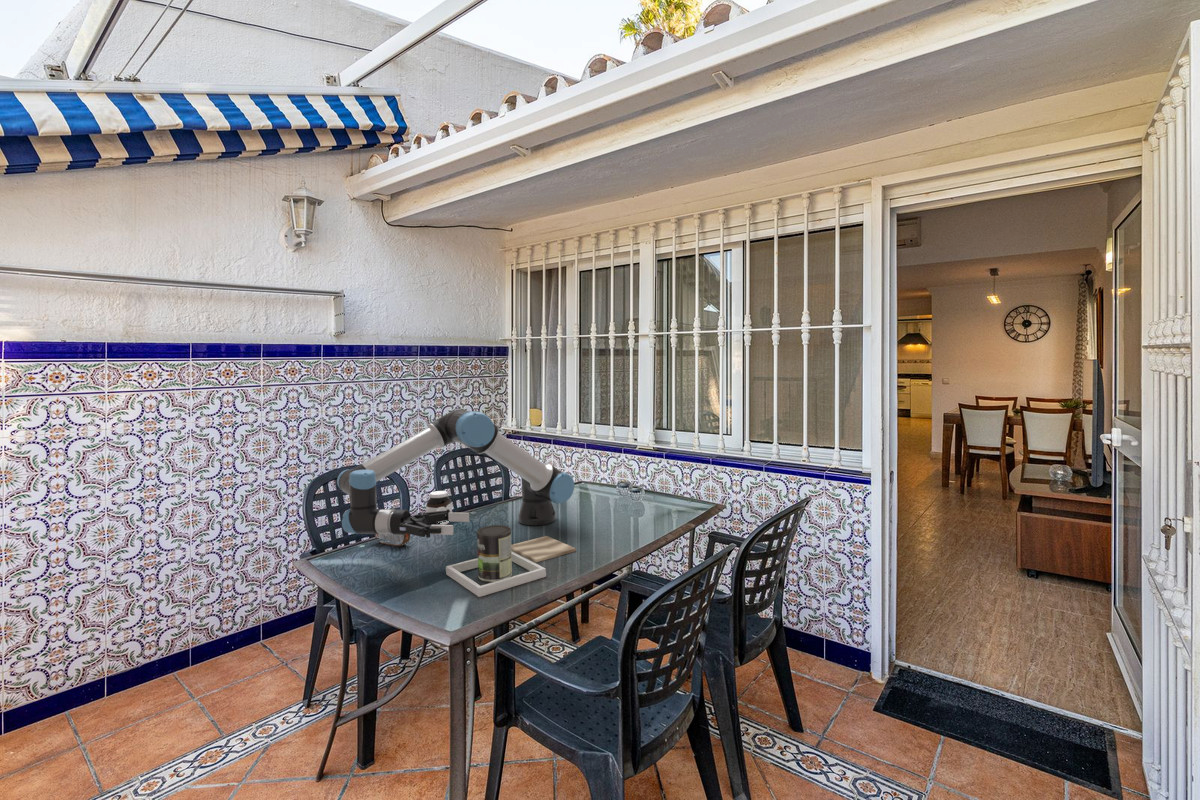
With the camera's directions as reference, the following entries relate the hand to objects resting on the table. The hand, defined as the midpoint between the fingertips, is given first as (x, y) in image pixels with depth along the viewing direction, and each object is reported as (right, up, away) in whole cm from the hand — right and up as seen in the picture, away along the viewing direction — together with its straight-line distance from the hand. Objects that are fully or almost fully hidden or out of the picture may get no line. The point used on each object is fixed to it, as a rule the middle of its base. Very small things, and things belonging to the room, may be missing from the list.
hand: (461, 523), depth 171 cm
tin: (-33, -15, +31) cm, 48 cm away
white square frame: (+10, -16, 0) cm, 19 cm away
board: (+22, -14, +23) cm, 34 cm away
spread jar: (-22, -12, +59) cm, 64 cm away
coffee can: (+10, -16, 0) cm, 19 cm away
